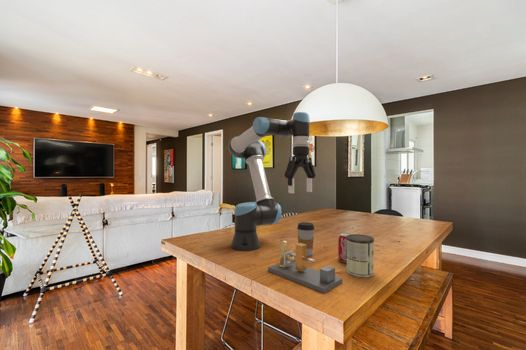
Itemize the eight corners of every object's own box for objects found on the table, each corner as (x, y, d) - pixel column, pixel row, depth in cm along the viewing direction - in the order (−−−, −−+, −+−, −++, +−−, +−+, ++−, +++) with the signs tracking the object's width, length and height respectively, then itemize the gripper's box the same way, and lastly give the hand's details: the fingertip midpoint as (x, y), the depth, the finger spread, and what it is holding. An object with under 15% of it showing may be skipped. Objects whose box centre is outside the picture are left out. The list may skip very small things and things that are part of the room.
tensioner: (319, 281, 88) (319, 268, 88) (327, 277, 91) (327, 265, 91) (327, 284, 86) (327, 271, 86) (334, 280, 89) (335, 267, 89)
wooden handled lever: (283, 266, 99) (283, 242, 99) (292, 263, 103) (292, 240, 103) (310, 276, 90) (311, 249, 90) (319, 272, 94) (319, 246, 94)
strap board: (268, 270, 101) (268, 267, 101) (287, 263, 109) (287, 260, 109) (324, 293, 82) (324, 288, 82) (342, 282, 91) (342, 278, 91)
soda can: (357, 263, 110) (357, 236, 110) (342, 264, 109) (342, 236, 109) (349, 258, 117) (349, 232, 117) (335, 258, 116) (335, 233, 116)
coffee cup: (314, 258, 117) (314, 226, 117) (296, 256, 119) (296, 225, 119) (314, 252, 125) (314, 222, 125) (297, 251, 127) (297, 221, 127)
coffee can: (345, 266, 107) (345, 233, 107) (370, 268, 104) (371, 234, 104) (347, 276, 97) (347, 239, 97) (376, 278, 94) (376, 241, 94)
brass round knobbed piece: (275, 265, 103) (275, 241, 103) (283, 262, 107) (283, 239, 107) (290, 271, 97) (291, 245, 97) (298, 267, 101) (299, 243, 101)
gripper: (289, 143, 104) (289, 194, 104) (322, 148, 121) (322, 191, 122) (276, 144, 109) (276, 193, 110) (310, 149, 127) (309, 190, 127)
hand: (300, 192), depth 116 cm, fingers open, 13 cm apart
